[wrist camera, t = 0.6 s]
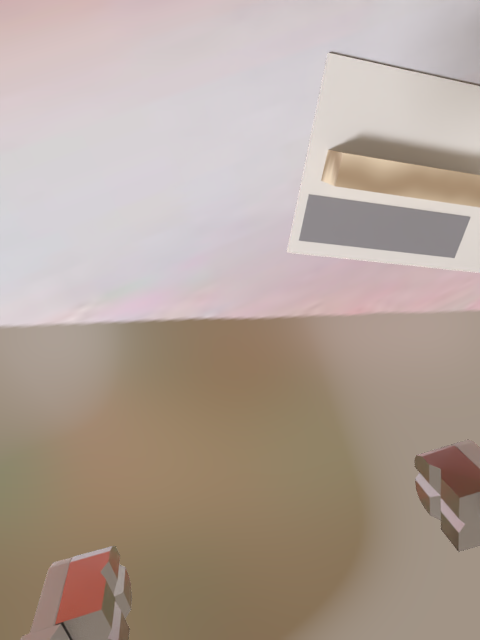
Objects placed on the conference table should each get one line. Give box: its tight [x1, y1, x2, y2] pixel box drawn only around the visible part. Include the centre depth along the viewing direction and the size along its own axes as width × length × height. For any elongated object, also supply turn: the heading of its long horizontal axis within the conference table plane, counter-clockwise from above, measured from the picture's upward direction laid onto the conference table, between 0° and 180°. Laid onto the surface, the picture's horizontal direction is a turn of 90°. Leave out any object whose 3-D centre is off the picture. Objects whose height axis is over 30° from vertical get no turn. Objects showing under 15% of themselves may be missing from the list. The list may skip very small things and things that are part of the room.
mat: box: [287, 53, 480, 273], centre depth 45 cm, size 19×38×1 cm, turn 81°
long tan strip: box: [321, 150, 480, 207], centre depth 41 cm, size 3×18×4 cm, turn 81°
